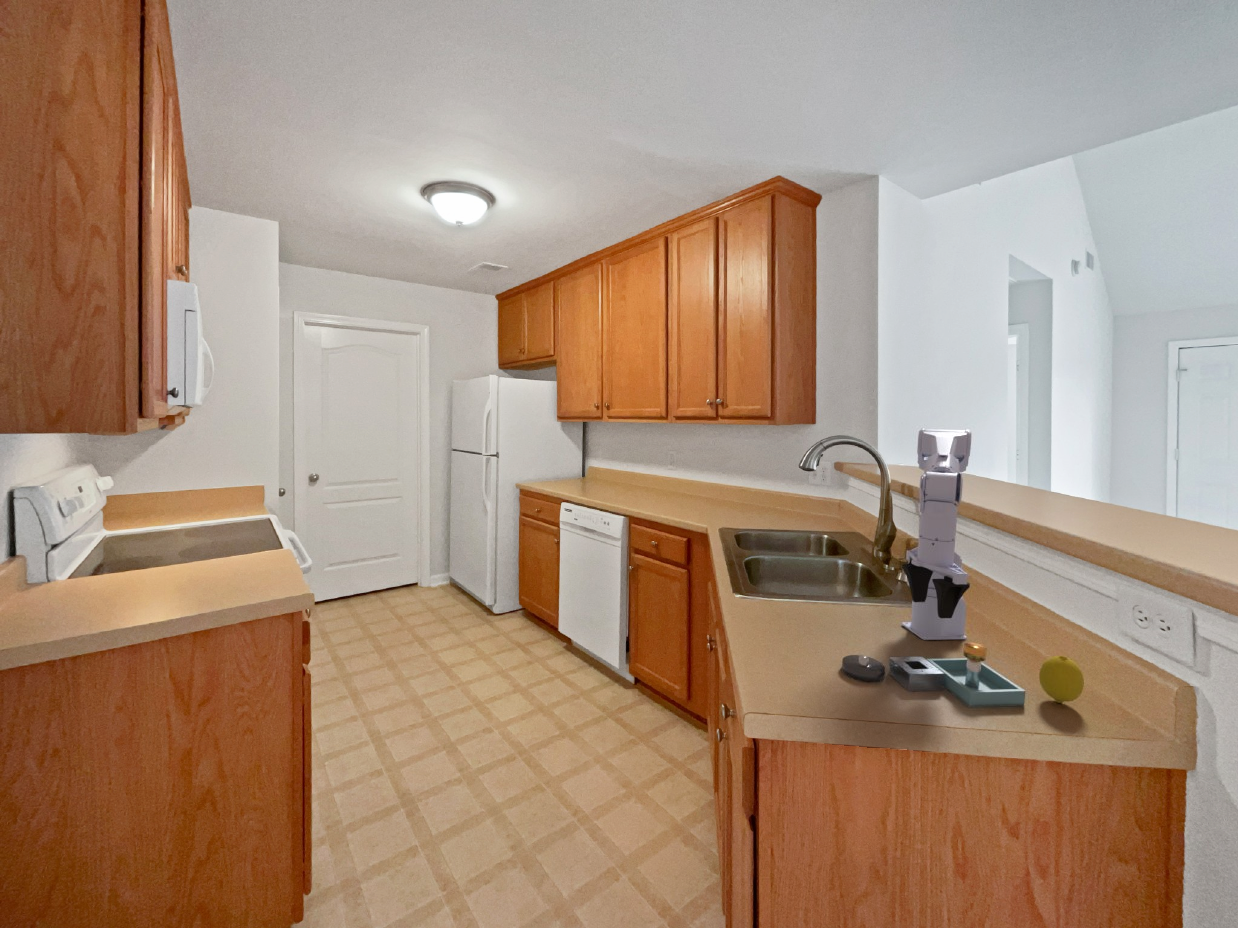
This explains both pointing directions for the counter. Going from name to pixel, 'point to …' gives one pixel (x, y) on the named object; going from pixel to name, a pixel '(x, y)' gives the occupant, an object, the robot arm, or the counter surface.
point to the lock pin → (974, 663)
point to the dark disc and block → (895, 671)
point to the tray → (990, 689)
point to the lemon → (1061, 679)
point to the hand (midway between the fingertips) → (931, 609)
